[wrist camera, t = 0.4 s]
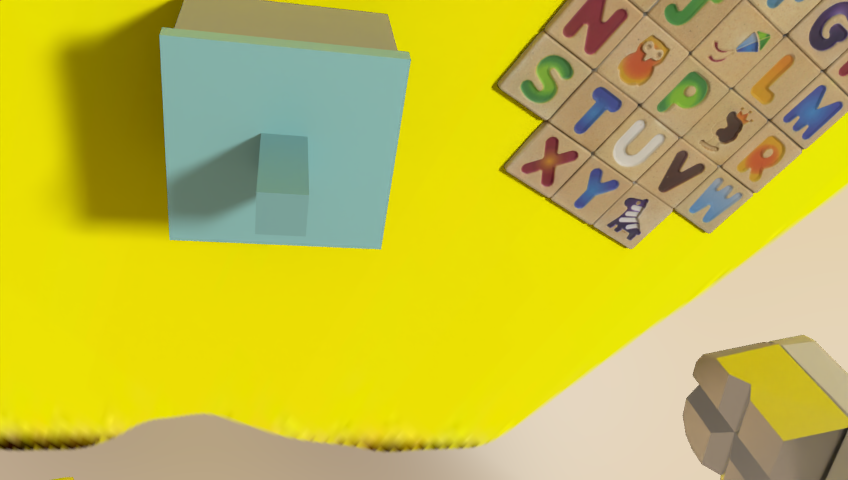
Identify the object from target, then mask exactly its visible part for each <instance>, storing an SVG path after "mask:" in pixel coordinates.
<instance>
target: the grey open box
mask: <svg viewBox="0 0 848 480" xmlns="http://www.w3.org/2000/svg"><path fill="white" fill-rule="evenodd" d="M174 28H175V29H185V30H195V31H205V32H215V33H225V34H235V35H245V36H255V37H265V38H275V39H284V40H294V41H304V42H314V43H324V44H334V45H344V46H354V47H364V48H374V49H384V50H394V51H397V47H396V43H395V40H394V36H393V32H392V29H391V25H390V21H389V18H388V14H381V13H372V12H363V11H354V10H345V9H336V8H327V7H318V6H308V5H299V4H290V3H281V2H272V1H263V0H184V2H183V5H182V8H181V10H180V13H179V16H178V19H177V22H176V25H175V27H174Z"/></svg>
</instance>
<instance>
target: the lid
mask: <svg viewBox="0 0 848 480" xmlns="http://www.w3.org/2000/svg"><path fill="white" fill-rule="evenodd" d="M159 37H160V57H161V77H162V96H163V116H164V136H165V156H166V175H167V195H168V215H169V235H170V240H186V241H209V242H231V243H254V244H276V245H299V246H321V247H343V248H366V249H381V245H382V239H383V232H384V226H385V220H386V213H387V207H388V201H389V194H390V188H391V182H392V175H393V169H394V163H395V156H396V150H397V144H398V137H399V131H400V125H401V118H402V112H403V106H404V99H405V93H406V87H407V80H408V74H409V68H410V61H411V59H410V55H409V52H404V51H394V50H384V49H374V48H364V47H354V46H344V45H334V44H324V43H314V42H304V41H294V40H284V39H275V38H265V37H255V36H245V35H235V34H225V33H215V32H205V31H195V30H185V29H175V28H165V27H162V29H161V32H160V34H159Z"/></svg>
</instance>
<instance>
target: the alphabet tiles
mask: <svg viewBox="0 0 848 480" xmlns="http://www.w3.org/2000/svg"><path fill="white" fill-rule="evenodd" d="M497 85H498V87H499V88H500V89H501V90H502V91H503V92H505V93H506V94H508V95H509V96H511V97H512V98H513V99H515V100H516V101H518V102H519V103H521V104H522V105H523V106H525V107H526V108H528V109H529V110H531V111H532V112H533V113H535V114H536V115H538V116H539V117H541V118H542V119H543V120H546V121H544V122H543V123H542V124H541V125H540V126H539V127H538V128H537V129H536V130H535V132H534V133H533V134H532V135H531V136H530V137H529V138H528V139H527V140H526V141H525V143H524V144H523V145H522V146H521V147H520V148H519V149H518V150H517V152H516V153H515V154H514V155H513V156H512V157H511V158H510V159H509V161H508V162H507V163H506V164H505V165H504V168H505V170H506V172H508V173H510V174H511V175H513V176H514V177H516V178H517V179H519V180H521V181H522V182H524V183H525V184H527V185H528V186H530V187H532V188H533V189H535V190H536V191H538V192H539V193H541V194H543V195H544V196H546V197H548V198H550V199H551V200H552V201H553V202H555V203H556V204H558V205H560V206H561V207H563V208H564V209H566V210H567V211H569V212H570V213H572V214H573V215H575V216H577V217H578V218H580V219H581V220H583V221H584V222H586V223H588V224H590V225H591V224H593V226H594V227H595V228H597V229H599V230H600V231H602V232H603V233H605V234H607V235H608V236H610V237H611V238H613V239H615V240H616V241H618V242H619V243H621V244H623V245H624V246H626V247H627V248H629V249H632V248H634V247H635V246H636V245H637V244H638V243H639V242H640V241H641V240H642V239H643V238H644V237H645V236H646V235H647V234H649V233H650V232H651V231H652V230H653V229H654V228H655V227H656V226H657V225H658V224H659V223H661V222H662V221H663V220H664V219H665V218H666V217H667V216H668V215H669V214H670V213H671V212H672V211H673V209H674V210H675V211H677V212H678V213H680V214H681V215H683V216H684V217H685V218H687V219H688V220H690V221H691V222H692V223H694V224H695V225H697V226H698V227H700V228H701V229H702V230H704V231H705V232H707V233H711V232H712V231H713V230H714V229H715V228H717V227H718V226H719V225H720V224H721V223H722V222H723V221H724V220H726V219H727V218H728V217H729V216H730V215H731V214H732V213H734V212H735V211H736V210H737V209H738V208H739V207H740V206H741V205H743V204H744V203H745V202H746V201H747V200H748V199H749V198H751V197H752V196H753V193H757V192H758V191H759V190H761V189H762V188H763V187H764V186H765V185H766V184H767V183H768V182H769V181H771V180H772V179H773V178H774V177H775V176H776V175H777V174H778V173H780V172H781V171H782V170H783V169H784V168H785V167H786V166H788V165H789V164H790V163H791V162H792V161H793V160H794V159H795V158H796V157H797V156H799V155H800V154H801V153H802V149H806V148H808V147H809V146H810V145H811V144H812V143H813V142H814V141H815V140H816V139H818V138H819V137H820V136H821V135H822V134H823V133H824V132H825V131H827V130H828V129H829V128H830V127H831V126H832V125H833V124H834V123H836V122H837V121H838V120H839V119H840V118H841V117H842V116H843V115H844V114H846V113H847V112H848V0H567V1H566V2H565V3H564V4H563V6H562V7H561V8H560V9H559V10H558V12H557V13H556V14H555V15H554V16H553V18H552V19H551V20H550V21H549V22H548V24H547V25H546V26H545V29H544V30H543V31H541V32H540V33H539V34H538V35H537V36H536V38H535V39H534V40H533V41H532V42H531V43H530V45H529V46H528V47H527V48H526V49H525V51H524V52H523V53H522V54H521V55H520V56H519V58H518V59H517V60H516V61H515V62H514V64H513V65H512V66H511V67H510V68H509V69H508V71H507V72H506V73H505V74H504V75H503V76H502V78H501V79H500V80H499V81H498V84H497Z"/></svg>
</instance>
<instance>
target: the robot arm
mask: <svg viewBox="0 0 848 480" xmlns="http://www.w3.org/2000/svg"><path fill="white" fill-rule="evenodd" d="M693 376H694V378H695V379H696V381H697V382H698V383H699V386H698V387H697V388H696V389H695V390H694V391H693V392H692V393H691V394H690V395H689V396H688V397H687V398H686V402H685V407H684V412H683V420H684V426H685V432H686V436H687V438H688V441H689V443H690V445H691V448H692V450H693V451H694V453H695V454H696V456H697V458H698V459H699V461H700V462H701V464H703V465H704V466H706V467H708V468H709V469H711V470H713V471H715V472H716V473H718V474H720V475H721V480H848V373H847V372H846V371H845V370H844V369H842V367H841V366H840V365H839V364H838V363H837V362H836V361H835V360H834V359H833V358H832V357H831V356H829V354H828V353H827V352H826V351H825V350H824V349H822V347H821V346H820V345H819V344H818V343H817V342H816V341H814V340H813V339H811V338H809V337H807V336H805V335H800V336H795V337H790V338H785V339H780V340H775V341H770V342H762V343H757V344H752V345H748V346H742V347H737V348H732V349H727V350H723V351H718V352H713V353H709V354H704V355H702V356H701V358H699V359H698V361H697V362H696V365H695V368H694V372H693ZM53 480H74V479H73V477H65V478H59V479H53Z"/></svg>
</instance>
